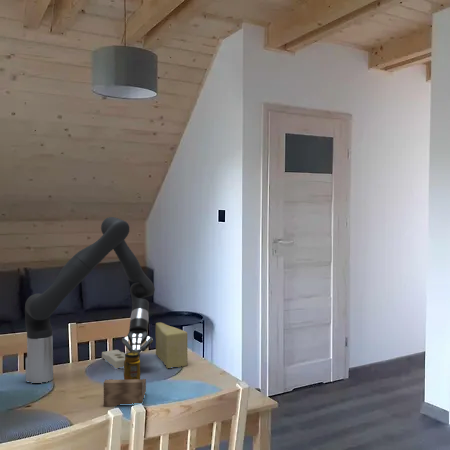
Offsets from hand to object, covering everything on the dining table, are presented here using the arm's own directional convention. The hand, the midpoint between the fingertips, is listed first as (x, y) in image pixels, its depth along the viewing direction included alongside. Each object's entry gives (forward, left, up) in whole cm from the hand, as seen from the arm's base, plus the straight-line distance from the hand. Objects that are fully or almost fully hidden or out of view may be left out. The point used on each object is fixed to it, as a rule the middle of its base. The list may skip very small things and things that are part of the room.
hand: (135, 359), depth 202 cm
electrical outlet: (-11, +17, -7) cm, 21 cm away
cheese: (+11, +19, -7) cm, 23 cm away
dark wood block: (0, -25, -6) cm, 26 cm away
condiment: (0, -11, -7) cm, 13 cm away
